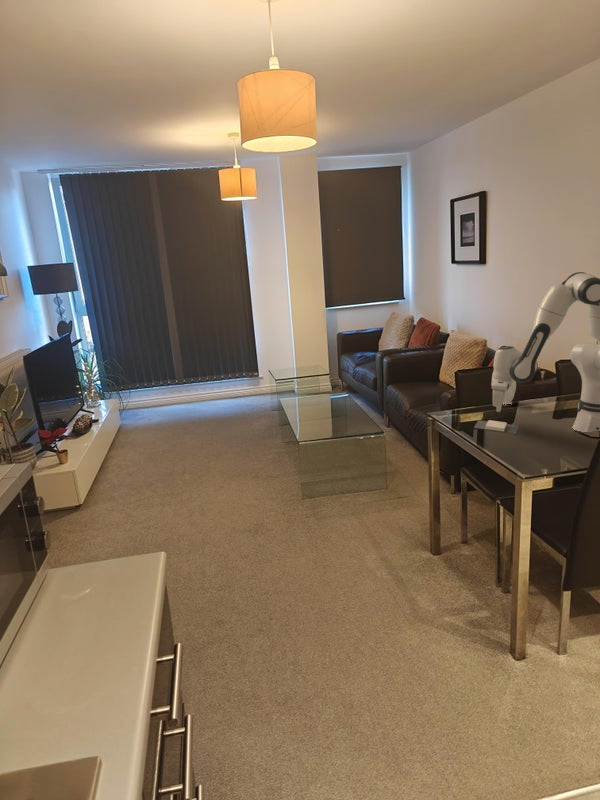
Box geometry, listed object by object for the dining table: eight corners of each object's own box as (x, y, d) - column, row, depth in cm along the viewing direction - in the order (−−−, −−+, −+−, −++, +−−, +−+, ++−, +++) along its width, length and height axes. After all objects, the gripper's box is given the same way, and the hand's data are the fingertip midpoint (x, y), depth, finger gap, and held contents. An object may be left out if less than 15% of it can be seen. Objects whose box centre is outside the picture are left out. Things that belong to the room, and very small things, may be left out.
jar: (516, 406, 274) (519, 378, 270) (495, 405, 276) (498, 377, 272) (511, 400, 284) (514, 373, 280) (491, 400, 286) (494, 373, 282)
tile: (506, 422, 244) (504, 428, 236) (506, 426, 244) (503, 431, 237) (488, 420, 247) (485, 425, 240) (488, 423, 248) (485, 429, 240)
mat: (518, 426, 245) (518, 425, 244) (515, 434, 234) (515, 433, 234) (478, 420, 252) (478, 420, 252) (473, 428, 242) (473, 427, 242)
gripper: (497, 376, 250) (494, 404, 254) (491, 386, 233) (488, 416, 237) (512, 377, 247) (508, 406, 251) (506, 387, 230) (503, 418, 234)
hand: (498, 411), depth 244 cm, fingers closed
